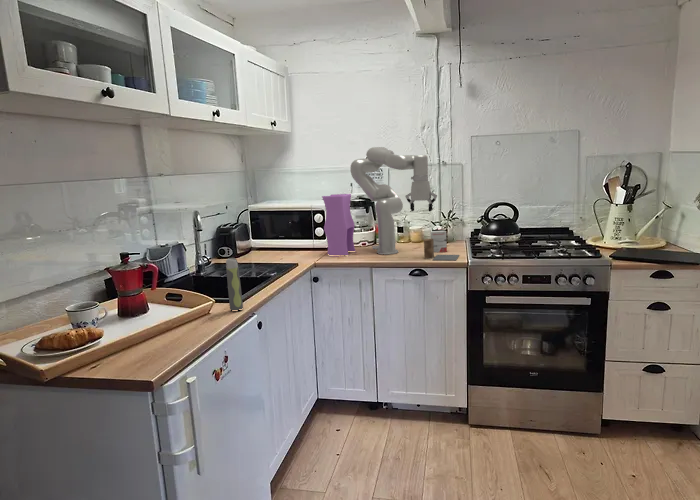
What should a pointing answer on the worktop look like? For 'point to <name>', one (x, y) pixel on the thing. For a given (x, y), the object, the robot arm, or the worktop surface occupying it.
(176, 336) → the worktop surface
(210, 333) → the worktop surface
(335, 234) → the container
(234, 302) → the grey green tall block
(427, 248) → the walnut block
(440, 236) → the ink box
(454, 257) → the mat
